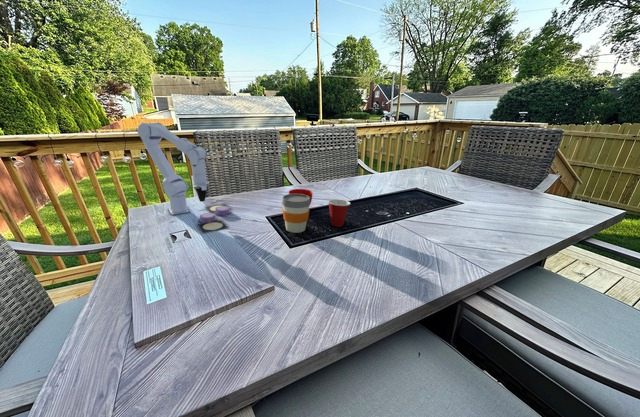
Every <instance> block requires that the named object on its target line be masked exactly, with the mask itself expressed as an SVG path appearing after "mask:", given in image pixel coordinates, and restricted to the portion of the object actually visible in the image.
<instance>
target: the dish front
mask: <svg viewBox="0 0 640 417" xmlns="http://www.w3.org/2000/svg"><path fill="white" fill-rule="evenodd" d="M215 221H217V214H216V213H215V212H213V213H211V212H205V213H202V214H200V215H199V222H200V223H201V224H204V223H211V222H215Z"/></svg>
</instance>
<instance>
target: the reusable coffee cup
mask: <svg viewBox="0 0 640 417" xmlns="http://www.w3.org/2000/svg"><path fill="white" fill-rule="evenodd" d="M281 204H282V217H283V220H284V224H285V231H287V232H289V233H294V234H297V233H298V234H300V233H302V232H305V231H306V228H307V224H308V223H307V222H308V220H309V216H310V206H311V204H310V197H309V196H307V195H304V194H289V193H287V194H284V195H283V196H282V200H281ZM309 205H310V206H309Z"/></svg>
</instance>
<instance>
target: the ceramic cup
mask: <svg viewBox="0 0 640 417" xmlns="http://www.w3.org/2000/svg"><path fill="white" fill-rule="evenodd" d="M288 194H304V195H307V196H309V197H310V205H309V207H310V206H311V204H312V201H313V191H312V190H309V189H306V188H305V189H304V188H295V189H290V190H288Z"/></svg>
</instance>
